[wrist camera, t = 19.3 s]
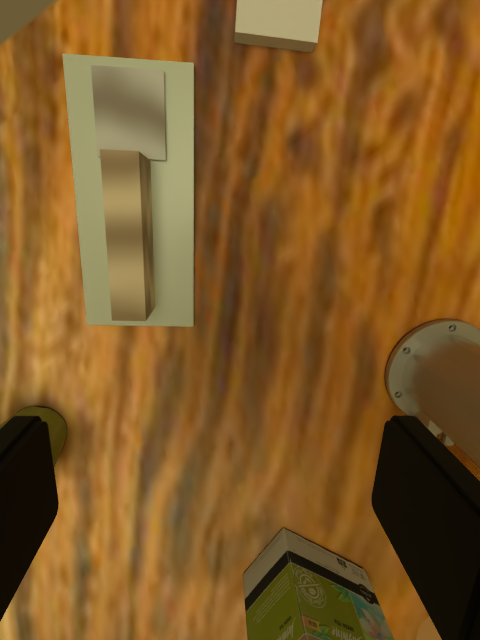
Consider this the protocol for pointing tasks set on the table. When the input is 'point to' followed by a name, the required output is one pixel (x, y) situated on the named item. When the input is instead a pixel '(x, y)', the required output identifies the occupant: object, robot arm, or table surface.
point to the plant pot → (54, 424)
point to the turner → (129, 179)
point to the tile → (278, 23)
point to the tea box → (309, 595)
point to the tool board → (166, 189)
